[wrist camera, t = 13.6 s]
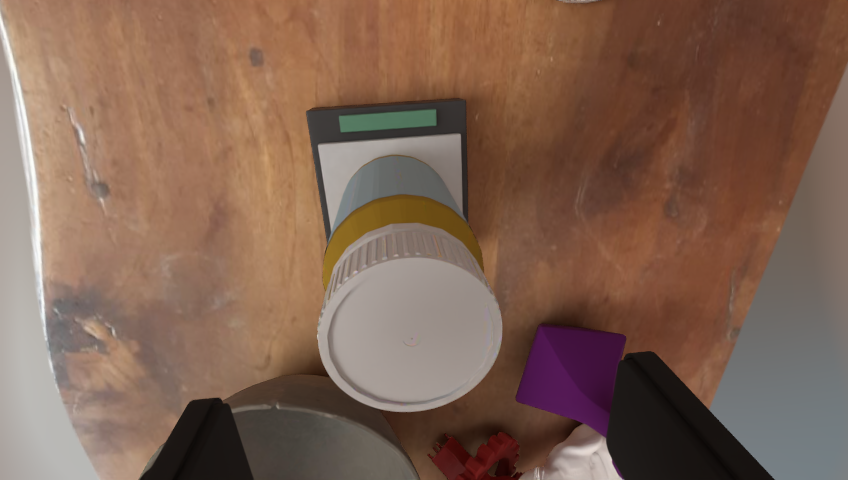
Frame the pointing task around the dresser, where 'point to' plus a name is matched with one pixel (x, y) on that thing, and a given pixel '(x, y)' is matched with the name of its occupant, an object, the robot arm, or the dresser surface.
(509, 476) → the red toothed curved piece
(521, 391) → the perfume bottle
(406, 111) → the scale
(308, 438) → the bowl
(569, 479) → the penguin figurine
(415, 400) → the bottle
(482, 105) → the dresser surface
